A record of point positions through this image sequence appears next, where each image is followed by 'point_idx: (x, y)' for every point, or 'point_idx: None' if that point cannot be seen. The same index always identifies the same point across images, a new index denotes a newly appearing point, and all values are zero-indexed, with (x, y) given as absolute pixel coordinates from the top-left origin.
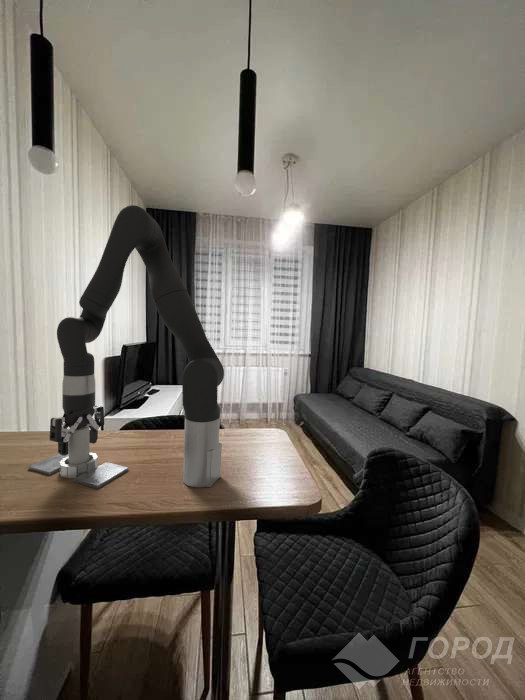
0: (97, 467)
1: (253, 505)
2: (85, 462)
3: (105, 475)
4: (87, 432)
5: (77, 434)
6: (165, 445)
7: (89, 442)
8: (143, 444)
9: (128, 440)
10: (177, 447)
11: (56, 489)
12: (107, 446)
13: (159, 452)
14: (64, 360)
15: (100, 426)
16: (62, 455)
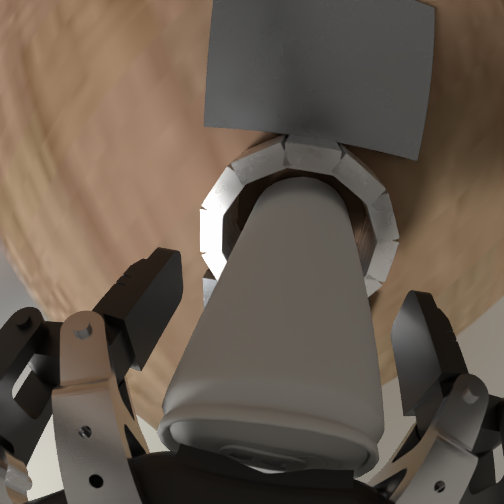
0: (275, 124)
1: None
2: (308, 190)
3: (339, 20)
4: (257, 356)
5: (376, 401)
6: (6, 60)
7: (182, 292)
8: (22, 139)
9: (32, 220)
10: (11, 13)
11: (467, 189)
12: (90, 258)
13: (45, 21)
14: None
15: (51, 322)
16: None
